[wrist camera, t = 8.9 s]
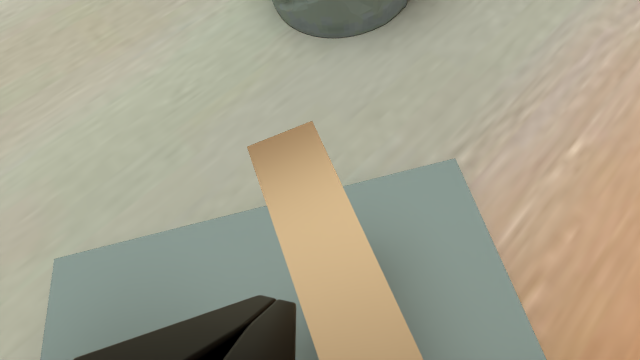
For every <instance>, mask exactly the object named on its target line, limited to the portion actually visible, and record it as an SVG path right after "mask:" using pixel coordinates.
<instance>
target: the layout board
mask: <svg viewBox="0 0 640 360" xmlns="http://www.w3.org/2000/svg"><path fill="white" fill-rule="evenodd" d="M343 188H344V191H345V193H346V195H347V197H348V199H349V201H350V203H351V206H352V208H353V210H354V212H355V214H356V216H357V218H358V221H359V223H360V225H361V227H362V229H363V231H364V233H365V236H366V238H367V240H368V242H369V244H370V246H371V248H372V251H373V253H374V255H375V257H376V259H377V261H378V263H379V266H380V268H381V270H382V272H383V274H384V276H385V278H386V281H387V283H388V285H389V287H390V289H391V291H392V293H393V296H394V298H395V300H396V302H397V304H398V306H399V308H400V311H401V313H402V315H403V317H404V319H405V321H406V323H407V326H408V328H409V330H410V332H411V334H412V336H413V338H414V341H415V343H416V345H417V347H418V349H419V351H420V353H421V356H422V358H423V360H546V358H545V355H544V353H543V351H542V349H541V347H540V344H539V342H538V340H537V338H536V336H535V333H534V331H533V329H532V327H531V325H530V322H529V320H528V318H527V316H526V314H525V311H524V309H523V307H522V305H521V302H520V300H519V298H518V296H517V294H516V291H515V289H514V287H513V285H512V283H511V280H510V278H509V276H508V274H507V272H506V269H505V267H504V265H503V263H502V261H501V258H500V256H499V254H498V252H497V250H496V247H495V245H494V243H493V241H492V239H491V236H490V234H489V232H488V230H487V228H486V225H485V223H484V221H483V219H482V217H481V214H480V212H479V210H478V208H477V206H476V203H475V201H474V199H473V197H472V194H471V192H470V190H469V188H468V186H467V183H466V181H465V179H464V177H463V175H462V172H461V170H460V168H459V166H458V164H457V161H456V159H451V160H447V161H443V162H439V163H435V164H431V165H427V166H423V167H419V168H415V169H411V170H407V171H403V172H399V173H395V174H391V175H387V176H383V177H379V178H375V179H371V180H367V181H363V182H359V183H355V184H351V185H347V186H343ZM257 295H263V296H268V297H272V298H275V299H276V300H278V299H281V300H285V301H290V302H294V303H295V304H296V352H295V360H319V358H318V355H317V352H316V349H315V346H314V343H313V340H312V337H311V334H310V331H309V328H308V325H307V322H306V319H305V316H304V314H303V311H302V308H301V305H300V302H299V299H298V296H297V293H296V290H295V287H294V284H293V281H292V278H291V275H290V272H289V269H288V266H287V263H286V260H285V257H284V255H283V252H282V249H281V246H280V243H279V240H278V237H277V234H276V231H275V228H274V225H273V222H272V219H271V216H270V213H269V210H268V207H267V206H263V207H259V208H255V209H251V210H248V211H244V212H240V213H236V214H232V215H228V216H224V217H220V218H216V219H212V220H208V221H204V222H200V223H196V224H192V225H188V226H184V227H180V228H176V229H172V230H168V231H164V232H160V233H156V234H152V235H148V236H144V237H140V238H136V239H132V240H128V241H124V242H120V243H116V244H112V245H108V246H104V247H100V248H96V249H92V250H88V251H84V252H80V253H76V254H72V255H68V256H64V257H60V258H56V259H54V265H53V273H52V280H51V287H50V294H49V301H48V308H47V316H46V323H45V330H44V337H43V344H42V351H41V359H40V360H73V359H74V358H76V357H79V356H82V355H84V354H87V353H90V352H93V351H96V350H99V349H102V348H105V347H108V346H111V345H114V344H117V343H120V342H123V341H125V340H128V339H131V338H134V337H137V336H140V335H143V334H146V333H149V332H152V331H155V330H158V329H161V328H163V327H166V326H169V325H172V324H175V323H178V322H181V321H184V320H187V319H190V318H193V317H196V316H199V315H201V314H204V313H207V312H210V311H213V310H216V309H219V308H222V307H225V306H228V305H231V304H234V303H237V302H239V301H242V300H245V299H248V298H251V297H254V296H257Z"/></svg>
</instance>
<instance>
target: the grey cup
mask: <svg viewBox="0 0 640 360" xmlns="http://www.w3.org/2000/svg"><path fill="white" fill-rule="evenodd" d="M272 1H273V3H274V6H275V7H276V9H277V11H278V13H279V14H280V16H281V17H282V18H283V20H284V21H285V22H286V23H287V24H289V25H290V26H292V27H293V28H295V29H296V30H298V31H300V32H303V33H305V34H309V35H313V36H317V37H326V38H340V37H350V36H354V35H359V34H362V33H365V32H368V31H371V30H373V29H376V28H378V27H380V26H382V25H385V24H386V23H387V22H389V21H390V20H391V19H392V18H394V17H395V16H396V15H397V14H398V13H399V12H400V11H401V9H402V8H405V6H406V4H407V0H272Z"/></svg>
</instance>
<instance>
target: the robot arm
mask: <svg viewBox="0 0 640 360" xmlns="http://www.w3.org/2000/svg"><path fill="white" fill-rule="evenodd" d="M295 352H296V304H295V303H294V302H290V301H285V300H281V299H278V300H276V299H275V298H272V297H268V296H263V295H257V296H254V297H251V298H248V299H245V300H242V301H239V302H237V303H234V304H231V305H228V306H225V307H222V308H219V309H216V310H213V311H210V312H207V313H204V314H201V315H199V316H196V317H193V318H190V319H187V320H184V321H181V322H178V323H175V324H172V325H169V326H166V327H163V328H161V329H158V330H155V331H152V332H149V333H146V334H143V335H140V336H137V337H134V338H131V339H128V340H125V341H123V342H120V343H117V344H114V345H111V346H108V347H105V348H102V349H99V350H96V351H93V352H90V353H87V354H84V355H82V356H79V357H76V358H74V359H73V360H295Z"/></svg>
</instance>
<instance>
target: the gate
mask: <svg viewBox="0 0 640 360" xmlns="http://www.w3.org/2000/svg"><path fill="white" fill-rule="evenodd" d="M247 148H248V151H249V154H250V157H251V160H252V163H253V166H254V169H255V172H256V175H257V178H258V181H259V184H260V187H261V190H262V193H263V196H264V198H265V201H266V204H267V207H268V210H269V213H270V216H271V219H272V222H273V225H274V228H275V231H276V234H277V237H278V240H279V243H280V246H281V249H282V252H283V255H284V257H285V260H286V263H287V266H288V269H289V272H290V275H291V278H292V281H293V284H294V287H295V290H296V293H297V296H298V299H299V302H300V305H301V308H302V311H303V314H304V316H305V319H306V322H307V325H308V328H309V331H310V334H311V337H312V340H313V343H314V346H315V349H316V352H317V355H318V358H319V360H423V358H422V356H421V353H420V351H419V349H418V347H417V345H416V343H415V341H414V338H413V336H412V334H411V332H410V330H409V328H408V326H407V323H406V321H405V319H404V317H403V315H402V313H401V311H400V308H399V306H398V304H397V302H396V300H395V298H394V296H393V293H392V291H391V289H390V287H389V285H388V283H387V281H386V278H385V276H384V274H383V272H382V270H381V268H380V266H379V263H378V261H377V259H376V257H375V255H374V253H373V251H372V248H371V246H370V244H369V242H368V240H367V238H366V236H365V233H364V231H363V229H362V227H361V225H360V223H359V221H358V218H357V216H356V214H355V212H354V210H353V208H352V206H351V203H350V201H349V199H348V197H347V195H346V193H345V191H344V188H343V186H342V184H341V182H340V180H339V178H338V175H337V173H336V171H335V169H334V167H333V165H332V163H331V160H330V158H329V156H328V154H327V152H326V150H325V148H324V145H323V143H322V141H321V139H320V137H319V135H318V133H317V130H316V128H315V126H314V124H313V122H312V121H311V122H308V123H306V124H303V125H301V126H298V127H296V128H293V129H290V130H288V131H285V132H283V133H280V134H278V135H275V136H273V137H270V138H268V139H265V140H263V141H260V142H258V143H255V144H253V145H250V146H248V147H247Z"/></svg>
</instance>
